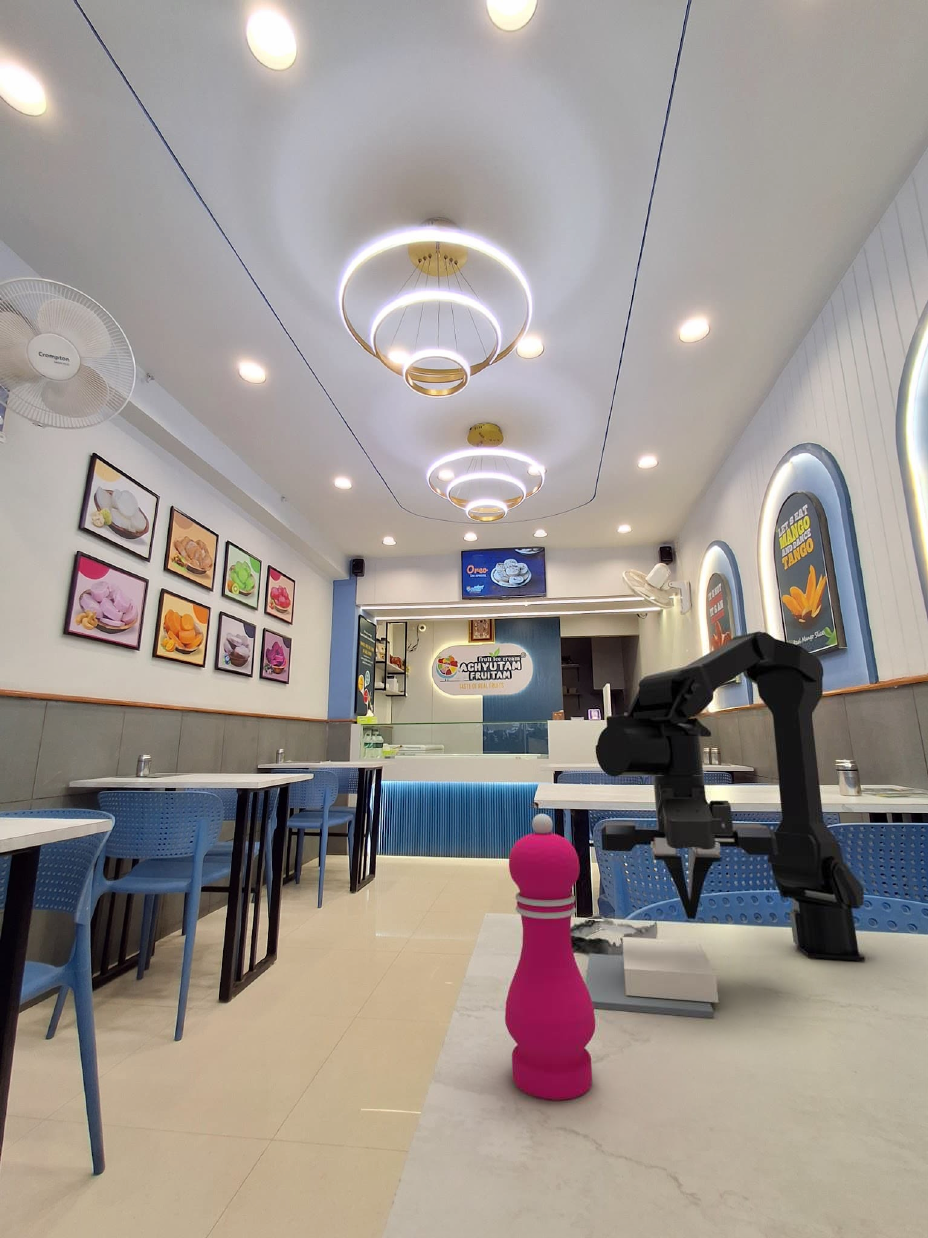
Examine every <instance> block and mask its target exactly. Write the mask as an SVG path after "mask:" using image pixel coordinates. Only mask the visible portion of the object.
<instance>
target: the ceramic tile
mask: <svg viewBox="0 0 928 1238" xmlns="http://www.w3.org/2000/svg"><path fill="white" fill-rule="evenodd" d="M623 954H624V955H623V956H624V972H625V987H626V995H630V996H642V997H655V998H667V999H680V1000H692V1001H705V1002H710V1003H719V994H718V986H717V976H716V975H717V974H716V972H715V971H714V968H713V967H712V964H711V962H710V960H709V958H708V956H707V955H706V952H705V950H704V948H703V946H702V943H701V942H700V941H698V940H697V941H696V940H684V939H683V940H680V939H664V938H662V939H661V938H656V939H649V938H631V937H623Z"/></svg>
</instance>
